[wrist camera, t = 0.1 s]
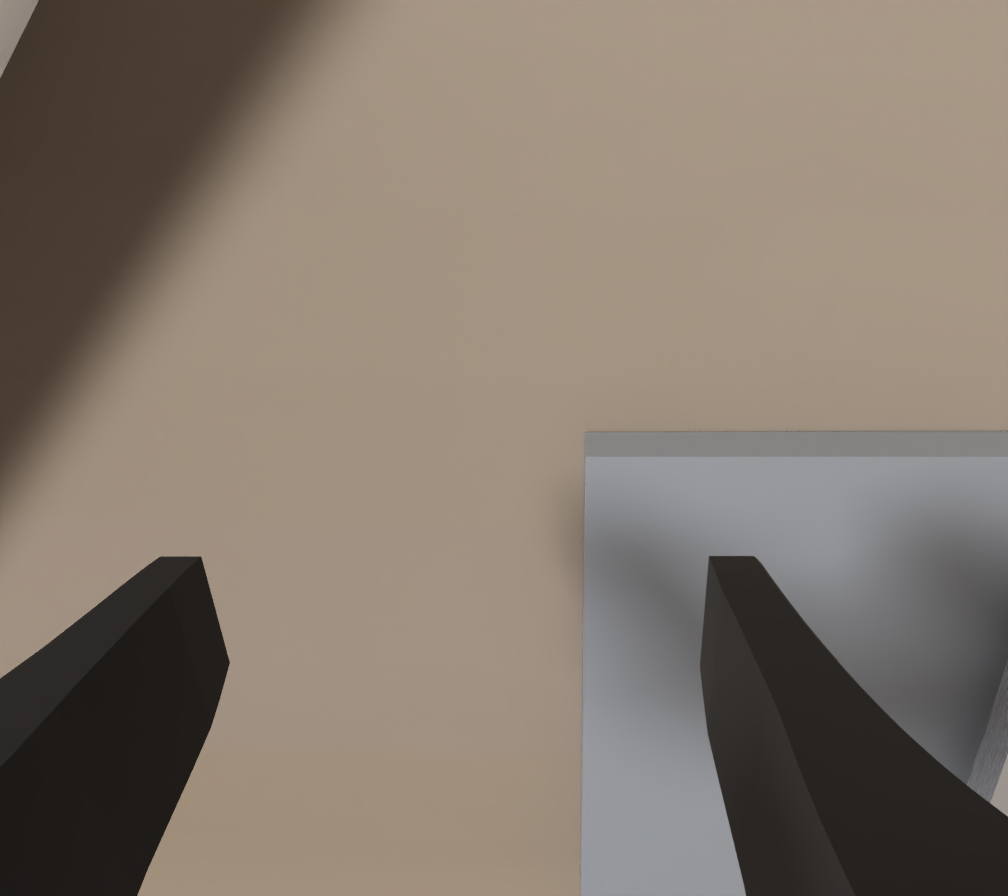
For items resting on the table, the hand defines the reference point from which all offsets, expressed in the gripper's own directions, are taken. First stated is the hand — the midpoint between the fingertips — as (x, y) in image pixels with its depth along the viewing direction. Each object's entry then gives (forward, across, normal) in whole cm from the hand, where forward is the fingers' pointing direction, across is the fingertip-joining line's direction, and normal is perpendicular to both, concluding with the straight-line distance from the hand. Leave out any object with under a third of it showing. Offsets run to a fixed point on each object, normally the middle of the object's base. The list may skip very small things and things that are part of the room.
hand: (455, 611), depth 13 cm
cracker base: (+10, -12, +12) cm, 20 cm away
